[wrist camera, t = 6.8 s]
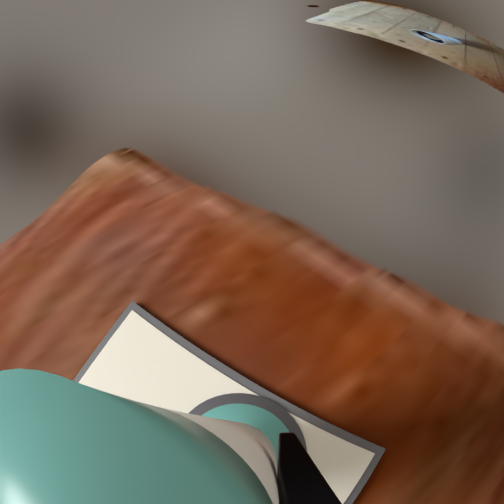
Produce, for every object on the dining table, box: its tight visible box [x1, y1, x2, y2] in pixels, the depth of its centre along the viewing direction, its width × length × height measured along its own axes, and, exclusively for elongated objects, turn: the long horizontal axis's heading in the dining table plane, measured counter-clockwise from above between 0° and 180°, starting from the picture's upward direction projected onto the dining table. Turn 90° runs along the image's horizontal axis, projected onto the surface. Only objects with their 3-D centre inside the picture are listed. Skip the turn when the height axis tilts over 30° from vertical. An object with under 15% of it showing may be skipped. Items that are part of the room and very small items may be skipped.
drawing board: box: [73, 301, 386, 504], centre depth 12 cm, size 18×18×1 cm
